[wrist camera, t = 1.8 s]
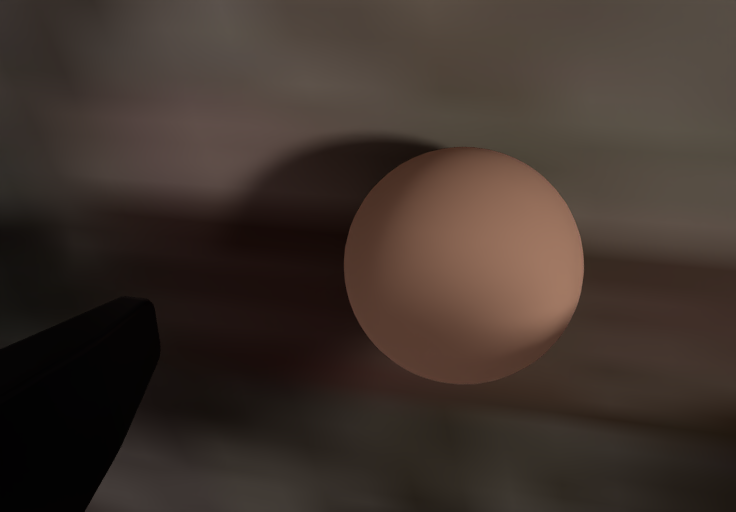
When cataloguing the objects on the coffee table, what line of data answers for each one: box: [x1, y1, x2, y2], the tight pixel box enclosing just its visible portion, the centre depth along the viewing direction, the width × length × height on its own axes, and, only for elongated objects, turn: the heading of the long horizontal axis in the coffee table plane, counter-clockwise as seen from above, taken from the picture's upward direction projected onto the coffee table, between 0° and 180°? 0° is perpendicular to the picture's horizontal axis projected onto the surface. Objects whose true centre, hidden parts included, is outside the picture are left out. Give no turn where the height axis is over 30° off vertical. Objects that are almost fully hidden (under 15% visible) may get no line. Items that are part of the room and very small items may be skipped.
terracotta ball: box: [344, 147, 584, 384], centre depth 11 cm, size 4×4×4 cm
